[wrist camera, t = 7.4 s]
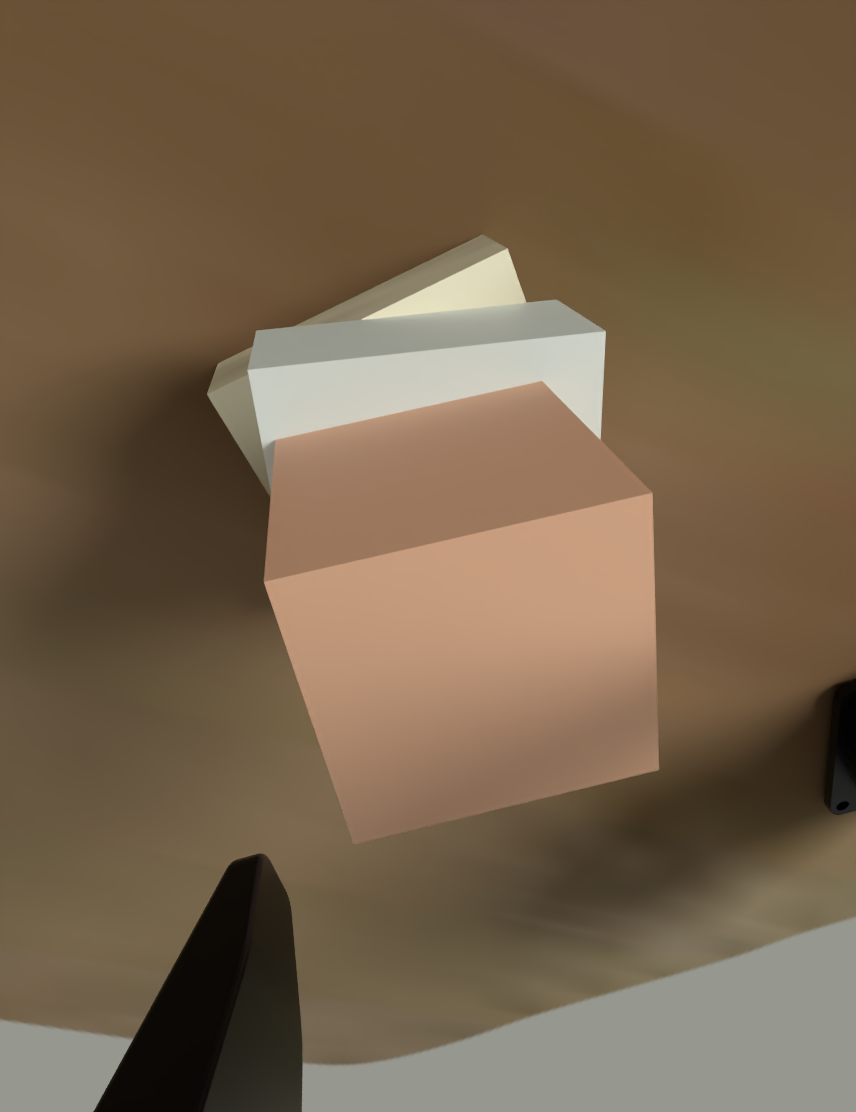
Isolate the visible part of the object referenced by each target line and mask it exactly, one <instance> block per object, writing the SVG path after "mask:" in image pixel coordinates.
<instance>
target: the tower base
mask: <svg viewBox="0 0 856 1112" xmlns="http://www.w3.org/2000/svg"><path fill="white" fill-rule="evenodd" d="M520 303H526V301H525V298H524V295H523V292H522V289H521V286H520V283H519V280H518V278H517V275H516V272H515V269H514V266H513V263H512V260H511V257H510V255H509V252H508V249H507V248H506V247H504V246H502V245H500V244H498V243H497V242H495V241H493V240H491V239H490V238H488V237H486V236H484V235H480V236H478V237H476V238H474V239H472V240H470V241H468V242H466V243H464V244H462V245H460V246H458V247H456V248H454V249H452V250H449V251H447V252H445V253H443V254H441V255H439V256H437V257H435V258H433V259H431V260H429V261H427V262H425V263H423V264H421V265H419V266H417V267H415V268H413V269H411V270H408V271H406V272H404V273H402V274H400V275H398V276H396V277H394V278H392V279H390V280H388V281H386V282H384V283H382V284H380V285H378V286H376V287H374V288H372V289H370V290H367V291H365V292H363V293H361V294H359V295H357V296H355V297H353V298H351V299H349V300H347V301H345V302H343V303H341V304H339V305H337V306H335V307H333V308H331V309H328V310H326V311H324V312H322V313H320V314H318V315H316V316H314V317H312V318H310V319H308V320H306V321H304V322H302V323H300V324H298V325H296V326H306V325H316V324H325V323H335V322H345V321H354V320H365V319H375V318H384V317H394V316H404V315H413V314H423V313H433V312H442V311H452V310H462V309H472V308H481V307H491V306H501V305H510V304H520ZM296 326H294V327H296ZM252 348H253V347H251V348H249V349H246V350H244V351H242V352H240V353H238V354H236V355H234V356H232V357H230V358H228V359H226V360H224V361H222V362H220V363H218V364H217V367H216V370H215V373H214V376H213V378H212V381H211V384H210V387H209V390H208V392H207V395H208V397H209V399H210V400H211V402H212V404H213V405H214V407H215V408H216V410H217V412H218V413H219V415H220V417H221V418H222V420H223V421H224V423H225V425H226V426H227V428H228V430H229V431H230V433H231V434H232V436H233V438H234V439H235V441H236V443H237V444H238V446H239V447H240V449H241V451H242V452H243V454H244V455H245V457H246V459H247V460H248V462H249V464H250V465H251V467H252V468H253V470H254V472H255V473H256V475H257V477H258V478H259V480H260V481H261V483H262V485H263V486H264V488H265V490H266V491H267V493H268V494H269V496H270V498H271V490H270V485H269V480H268V474H267V469H266V464H265V459H264V453H263V448H262V443H261V438H260V433H259V427H258V422H257V417H256V412H255V406H254V401H253V396H252V391H251V385H250V380H249V375H248V366H249V361H250V357H251V352H252Z"/></svg>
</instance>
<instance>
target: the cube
mask: <svg viewBox="0 0 856 1112" xmlns="http://www.w3.org/2000/svg"><path fill="white" fill-rule="evenodd" d="M264 584H265V587H266V590H267V593H268V596H269V599H270V601H271V604H272V607H273V610H274V613H275V616H276V619H277V622H278V625H279V628H280V631H281V634H282V636H283V639H284V642H285V645H286V648H287V651H288V654H289V657H290V660H291V663H292V666H293V668H294V671H295V674H296V677H297V680H298V683H299V686H300V689H301V692H302V695H303V698H304V701H305V703H306V706H307V709H308V712H309V715H310V718H311V721H312V724H313V727H314V730H315V733H316V735H317V738H318V741H319V744H320V747H321V750H322V753H323V756H324V759H325V762H326V765H327V768H328V770H329V773H330V776H331V779H332V782H333V785H334V788H335V791H336V794H337V797H338V800H339V803H340V805H341V808H342V811H343V814H344V817H345V820H346V823H347V826H348V829H349V832H350V835H351V837H352V840H353V843H354V845H355V844H359V843H363V842H367V841H371V840H375V839H379V838H383V837H387V836H391V835H395V834H400V833H404V832H408V831H412V830H416V829H420V828H424V827H428V826H432V825H436V824H440V823H444V822H449V821H453V820H457V819H461V818H465V817H469V816H473V815H477V814H481V813H485V812H489V811H493V810H497V809H502V808H506V807H510V806H514V805H518V804H522V803H526V802H530V801H534V800H538V799H542V798H546V797H551V796H555V795H559V794H563V793H567V792H571V791H575V790H579V789H583V788H587V787H591V786H595V785H600V784H604V783H608V782H612V781H616V780H620V779H624V778H628V777H632V776H636V775H640V774H644V773H649V772H653V771H657V770H659V747H658V705H657V664H656V622H655V581H654V539H653V498H652V492H651V491H650V490H649V489H648V488H647V487H646V486H645V485H644V484H643V483H642V482H641V481H640V480H639V479H638V478H637V477H636V476H635V475H634V474H633V473H632V472H631V471H630V470H629V469H628V468H627V467H626V466H625V465H624V464H623V463H622V462H621V460H620V459H619V458H618V457H617V456H616V455H615V454H614V453H613V452H612V451H611V450H610V449H609V448H608V447H607V446H606V445H605V444H604V443H603V442H602V441H601V440H600V439H599V438H598V437H597V436H596V435H595V434H594V433H593V432H592V431H591V430H590V429H589V428H588V427H587V426H586V425H585V424H584V423H583V422H582V421H581V420H580V419H579V418H578V417H577V416H576V415H575V414H574V413H573V412H572V411H571V410H570V409H569V408H568V407H567V406H566V405H565V404H564V403H563V402H562V401H561V400H560V399H559V398H558V397H557V396H556V395H555V394H554V392H553V391H552V390H551V389H550V388H549V387H548V386H547V385H546V384H545V383H544V382H543V381H539V382H535V383H530V384H526V385H521V386H517V387H512V388H507V389H503V390H498V391H494V392H489V393H485V394H480V395H476V396H471V397H467V398H462V399H458V400H453V401H449V402H444V403H440V404H435V405H431V406H426V407H422V408H417V409H413V410H408V411H404V412H399V413H395V414H390V415H386V416H381V417H377V418H372V419H367V420H363V421H358V422H354V423H349V424H345V425H340V426H336V427H331V428H327V429H322V430H318V431H313V432H309V433H304V434H300V435H295V436H291V437H286V438H282V439H277V440H275V449H274V462H273V474H272V487H271V499H270V511H269V524H268V536H267V548H266V561H265V573H264Z"/></svg>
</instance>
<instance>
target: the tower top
mask: <svg viewBox="0 0 856 1112" xmlns="http://www.w3.org/2000/svg"><path fill="white" fill-rule="evenodd" d="M605 335H606V331H605V330H603V329H602V328H600V327H598V326H597V325H595V324H594V323H592V322H591V321H589V320H587V319H586V318H584V317H583V316H581V315H580V314H578V313H577V312H575V311H573V310H572V309H570V308H569V307H567V306H566V305H564V304H563V303H561V302H559V301H558V300H548V301H538V302H529V303H520V304H510V305H501V306H491V307H481V308H472V309H462V310H452V311H442V312H433V313H423V314H413V315H404V316H394V317H384V318H375V319H365V320H354V321H345V322H335V323H325V324H316V325H306V326H296V327H287V328H277V329H267V330H257V331H256V334H255V339H254V343H253V348H252V352H251V357H250V361H249V366H248V375H249V380H250V385H251V391H252V396H253V401H254V406H255V412H256V417H257V422H258V427H259V433H260V438H261V443H262V448H263V453H264V459H265V464H266V469H267V474H268V480H269V485H270V490H271V487H272V474H273V462H274V449H275V440H277V439H282V438H286V437H291V436H295V435H300V434H304V433H309V432H313V431H318V430H322V429H327V428H331V427H336V426H340V425H345V424H349V423H354V422H358V421H363V420H367V419H372V418H377V417H381V416H386V415H390V414H395V413H399V412H404V411H408V410H413V409H417V408H422V407H426V406H431V405H435V404H440V403H444V402H449V401H453V400H458V399H462V398H467V397H471V396H476V395H480V394H485V393H489V392H494V391H498V390H503V389H507V388H512V387H517V386H521V385H526V384H530V383H535V382H539V381H543V382H544V383H545V384H546V385H547V386H548V387H549V388H550V389H551V390H552V391H553V392H554V394H555V395H556V396H557V397H558V398H559V399H560V400H561V401H562V402H563V403H564V404H565V405H566V406H567V407H568V408H569V409H570V410H571V411H572V412H573V413H574V414H575V415H576V416H577V417H578V418H579V419H580V420H581V421H582V422H583V423H584V424H585V425H586V426H587V427H588V428H589V429H590V430H591V431H592V432H593V433H594V434H595V435H596V436H597V437H598V438H599V439H600V437H601V416H602V396H603V376H604V355H605Z"/></svg>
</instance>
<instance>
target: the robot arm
mask: <svg viewBox="0 0 856 1112" xmlns="http://www.w3.org/2000/svg"><path fill="white" fill-rule="evenodd" d="M824 802H825V805H826V806H827V808H828V809H829V810H830V811H831V813H833V814H835V815H841V814H845V813H849V812H852V811H856V682H853V683H849V684H846V685H844V686H842V687H841V688H840V689H838V690H837V692H836V693H835V695H834V699H833V710H832V721H831V732H830V743H829V755H828V766H827V777H826V788H825V799H824ZM94 1112H302V1031H301V1017H300V1005H299V994H298V982H297V970H296V959H295V947H294V935H293V924H292V913H291V906H290V901H289V898H288V895H287V892H286V890H285V888H284V886H283V884H282V882H281V881H280V879H279V877H278V875H277V873H276V871H275V869H274V867H273V865H272V863H271V861H270V860H269V858H268V857H267V856H266V855H265V854H256V855H252V856H248V857H245V858H241V859H237V860H235V861H233V862H232V863H231V864H230V865H229V866H228V868H227V869H226V871H225V873H224V875H223V876H222V878H221V880H220V882H219V884H218V886H217V887H216V889H215V891H214V893H213V895H212V897H211V898H210V900H209V902H208V904H207V906H206V907H205V909H204V911H203V913H202V915H201V917H200V918H199V920H198V922H197V924H196V926H195V928H194V929H193V931H192V933H191V935H190V937H189V939H188V940H187V942H186V944H185V946H184V948H183V949H182V951H181V953H180V955H179V957H178V959H177V960H176V962H175V964H174V966H173V968H172V970H171V971H170V973H169V975H168V977H167V979H166V980H165V982H164V984H163V986H162V988H161V990H160V991H159V993H158V995H157V997H156V999H155V1001H154V1002H153V1004H152V1006H151V1008H150V1010H149V1012H148V1013H147V1015H146V1017H145V1019H144V1021H143V1022H142V1024H141V1026H140V1028H139V1030H138V1032H137V1033H136V1035H135V1037H134V1039H133V1041H132V1043H131V1045H130V1046H129V1048H128V1050H127V1052H126V1054H125V1055H124V1057H123V1059H122V1061H121V1063H120V1064H119V1066H118V1069H117V1070H116V1072H115V1074H114V1076H113V1077H112V1079H111V1081H110V1083H109V1085H108V1086H107V1088H106V1090H105V1092H104V1094H103V1095H102V1097H101V1099H100V1101H99V1103H98V1105H97V1107H96V1108H95V1110H94Z"/></svg>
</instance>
